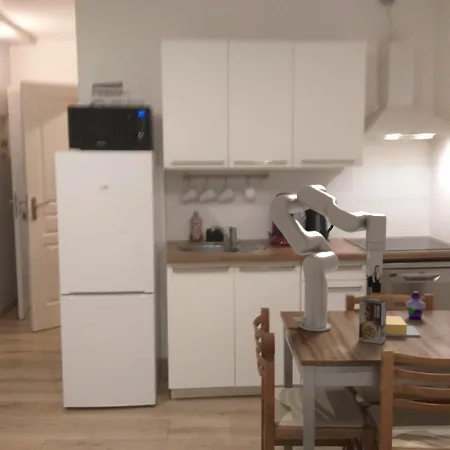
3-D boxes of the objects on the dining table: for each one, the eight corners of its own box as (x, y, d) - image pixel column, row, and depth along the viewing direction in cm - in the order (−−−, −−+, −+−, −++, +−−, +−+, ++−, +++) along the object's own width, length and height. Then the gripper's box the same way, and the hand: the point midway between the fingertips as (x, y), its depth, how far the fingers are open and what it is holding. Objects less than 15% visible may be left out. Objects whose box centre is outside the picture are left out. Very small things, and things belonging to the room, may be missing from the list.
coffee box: (386, 340, 239) (387, 300, 237) (380, 344, 234) (382, 303, 232) (363, 336, 244) (364, 297, 242) (358, 340, 238) (359, 300, 236)
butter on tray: (364, 335, 245) (364, 323, 245) (360, 326, 258) (360, 315, 258) (420, 336, 243) (421, 325, 243) (413, 327, 256) (413, 316, 256)
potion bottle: (403, 319, 269) (404, 292, 268) (405, 314, 277) (406, 288, 275) (424, 321, 266) (425, 294, 264) (425, 316, 274) (426, 290, 272)
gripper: (362, 242, 243) (361, 284, 245) (369, 249, 226) (367, 294, 228) (381, 242, 243) (380, 285, 245) (389, 249, 226) (388, 295, 228)
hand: (374, 289), depth 236 cm, fingers open, 9 cm apart
